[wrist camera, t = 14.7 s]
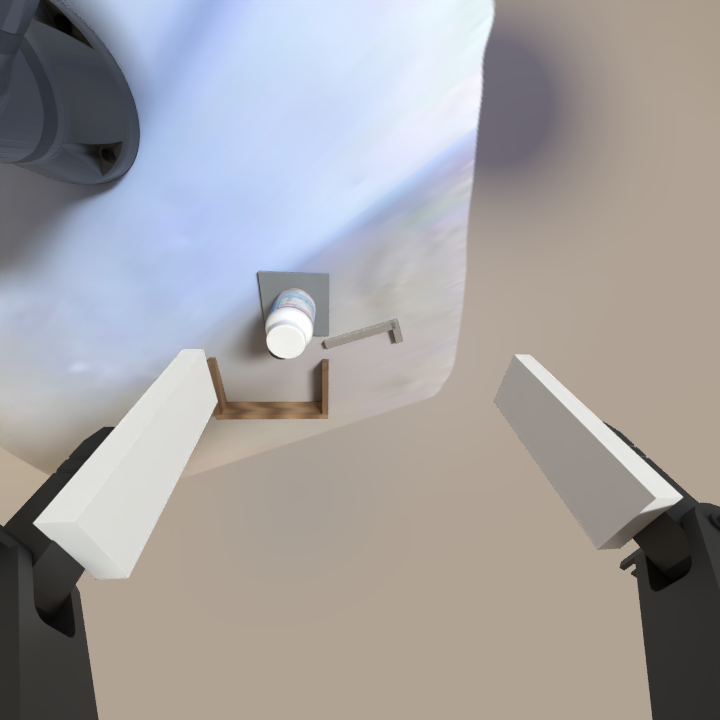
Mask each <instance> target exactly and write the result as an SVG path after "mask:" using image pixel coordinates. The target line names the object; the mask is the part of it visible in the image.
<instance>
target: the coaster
mask: <svg viewBox="0 0 720 720" xmlns="http://www.w3.org/2000/svg"><path fill="white" fill-rule="evenodd" d="M258 277H259V284H260V292H261V299H262V307H263V315H264V322H265V326H266V321H267V319H268V316H269V314H270V312H271V309H272V307H273V305H274V303H275V301H276V299H277V297H278V295H279V294H280V293H281V292H283V291H284V290H287V289H291V288H296V289H300V290H303V291H305V292H306V293H307V294H309V295H310V296H311V298H312V299H313V301H314V303H315V306H316V313H315V320H314V328H313V335H312V336H329V274H317V273H294V272H272V271H258Z"/></svg>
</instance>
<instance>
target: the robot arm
mask: <svg viewBox="0 0 720 720" xmlns="http://www.w3.org/2000/svg"><path fill="white" fill-rule="evenodd" d="M139 138H140V130H139V120H138V114H137V110H136V106H135V102H134V99H133V96H132V93H131V91H130V88H129V86H128V83H127V81H126V79H125V77H124V75H123V73H122V71H121V70H120V68H119V66H118V64H117V63H116V61H115V59H114V58H113V56H112V55H111V53H110V52H109V51H108V49H107V48H106V46H105V45H104V44H103V43H102V41H101V40H100V39H99V38H98V36H97V35H96V34H95V33H94V32H93V31H92V30H91V29H90V28H89V26H88V25H87V24H86V23H85V22H84V21H82V20H81V19H80V18H79V17H78V16H77V15H76V14H75V13H74V12H72V11H71V10H70V9H69V8H67V7H66V6H65V5H63V4H62V3H60V2H59V1H57V0H0V163H13V164H15V165H18V166H21V167H23V168H26V169H29V170H31V171H34V172H37V173H39V174H42V175H45V176H47V177H50V178H53V179H56V180H59V181H63V182H68V183H74V184H99V183H106V182H110V181H113V180H115V179H117V178H119V177H120V176H122V175H123V174H124V173H125V172H126V171H127V170H128V169H129V168H130V167H131V165H132V163H133V162H134V160H135V157H136V154H137V151H138V146H139ZM217 402H218V400H217V397H216V393H215V389H214V386H213V382H212V379H211V375H210V372H209V368H208V364H207V361H206V357H205V354H204V350H203V349H182V351H181V352H180V353H179V354H178V355H177V356H176V358H175V359H174V360H173V361H172V362H171V363H170V365H169V366H168V367H167V368H166V369H165V370H164V372H163V373H162V374H161V375H160V376H159V377H158V378H157V380H156V381H155V382H154V383H153V384H152V385H151V387H150V388H149V389H148V390H147V391H146V392H145V394H144V395H143V396H142V397H141V398H140V399H139V401H138V402H137V403H136V404H135V405H134V406H133V408H132V409H131V410H130V411H129V412H128V413H127V415H126V416H125V417H124V418H123V419H122V420H121V421H120V423H119V424H118V425H117V426H116V427H103V428H102V429H100V430H99V431H97V432H96V433H94V434H93V435H92V436H90V437H89V438H87V439H86V440H84V441H83V442H82V443H81V444H80V445H79V446H78V448H77V449H76V450H75V451H74V452H73V453H72V454H71V455H70V456H69V459H68V460H65V461H64V463H63V464H62V465H61V466H60V467H59V468H58V469H57V472H56V473H53V474H52V475H51V476H50V478H49V479H48V480H47V481H46V482H45V483H44V484H43V485H42V486H41V487H40V488H39V489H38V490H37V491H36V493H35V494H34V495H33V496H32V497H31V498H30V499H29V500H28V501H27V502H26V503H25V504H24V505H23V506H22V508H21V509H20V510H19V511H18V512H17V513H16V514H15V515H14V516H13V517H12V518H11V519H10V520H9V521H8V522H7V524H6V525H5V526H4V527H3V526H2V525H0V720H98V713H97V707H96V700H95V693H94V687H93V680H92V673H91V666H90V659H89V653H88V646H87V639H86V632H85V626H84V619H83V613H82V606H81V599H80V592H79V590H78V588H77V587H76V585H75V584H76V583H77V581H78V579H79V578H80V577H81V575H82V573H83V572H84V570H85V571H86V572H88V573H89V574H90V575H91V576H92V577H93V578H94V579H95V580H98V579H114V578H128V577H129V575H130V573H131V571H132V569H133V567H134V566H135V564H136V562H137V560H138V558H139V556H140V554H141V552H142V550H143V548H144V546H145V544H146V542H147V540H148V538H149V536H150V534H151V532H152V530H153V528H154V526H155V524H156V522H157V520H158V518H159V516H160V514H161V512H162V510H163V509H164V506H165V505H166V503H167V501H168V499H169V497H170V495H171V493H172V491H173V489H174V487H175V485H176V483H177V481H178V479H179V477H180V475H181V473H182V471H183V469H184V467H185V465H186V463H187V461H188V459H189V457H190V455H191V453H192V452H193V450H194V448H195V446H196V444H197V442H198V440H199V438H200V436H201V434H202V432H203V430H204V428H205V426H206V424H207V422H208V420H209V418H210V416H211V414H212V412H213V410H214V408H215V406H216V404H217ZM494 403H495V404H496V405H497V407H498V408H499V410H500V411H501V413H502V414H503V416H504V417H505V418H506V420H507V421H508V423H509V424H510V426H511V427H512V428H513V430H514V431H515V433H516V434H517V435H518V437H519V438H520V440H521V441H522V443H523V444H524V445H525V447H526V448H527V450H528V451H529V453H530V454H531V456H532V457H533V459H534V460H535V461H536V463H537V464H538V465H539V467H540V468H541V470H542V471H543V473H544V474H545V476H546V477H547V478H548V480H549V481H550V483H551V484H552V486H553V487H554V489H555V490H556V491H557V493H558V494H559V495H560V497H561V499H562V500H563V501H564V503H565V504H566V506H567V507H568V509H569V510H570V511H571V513H572V514H573V516H574V517H575V518H576V520H577V521H578V523H579V524H580V526H581V527H582V529H583V530H584V531H585V533H586V534H587V536H588V537H589V539H590V540H591V542H592V543H593V544H594V546H595V547H596V549H597V550H600V549H616V548H621V547H622V546H623V545H625V544H626V543H627V542H628V541H630V540H631V539H632V538H633V539H634V540H635V541H636V543H637V544H638V545H639V546H640V548H639V549H637V550H636V551H635V552H633V553H632V554H631V555H630V556H628V557H627V558H626V559H624V560H623V561H622V562H621V564H620V568H621V569H623V570H625V569H627V568H628V567H630V566H631V565H632V564H636V569H635V570H634V571H632V573H631V574H632V575H633V576H635V577H637V582H638V591H639V600H640V609H641V618H642V627H643V637H644V646H645V655H646V664H647V673H648V682H649V691H650V700H651V709H652V717H653V718H652V719H653V720H720V507H719V506H716V505H713V504H710V503H699V502H697V501H696V500H695V499H694V498H692V497H691V496H690V495H689V494H688V493H687V492H686V491H685V490H684V489H682V488H681V487H680V486H679V485H678V484H677V483H676V482H675V481H674V480H673V479H671V478H670V477H669V476H668V475H667V474H666V473H665V472H664V471H663V470H662V469H660V468H659V467H658V466H657V465H656V464H655V463H654V462H653V461H652V460H650V459H649V458H646V455H645V454H643V452H642V451H641V450H639V449H638V448H637V447H634V444H633V443H632V442H631V441H629V440H628V439H627V438H626V437H625V436H624V435H623V434H622V433H621V432H619V431H618V430H616V429H614V428H613V427H611V426H610V425H608V424H607V423H605V422H602V421H601V420H600V419H599V418H597V417H596V416H595V415H594V414H593V413H592V412H591V411H590V410H589V409H588V408H587V407H586V406H585V405H583V404H582V403H581V402H580V401H579V400H578V399H577V398H576V397H575V396H574V395H573V394H572V393H571V392H570V391H568V390H567V389H566V388H565V387H564V386H563V385H562V384H561V383H560V382H559V381H558V380H557V379H555V378H554V377H553V376H552V375H551V374H550V373H549V372H548V371H547V370H546V369H545V368H544V367H543V366H541V365H540V364H539V363H538V362H537V361H536V360H535V359H534V358H533V357H532V356H531V355H514V356H513V358H512V360H511V362H510V365H509V367H508V369H507V371H506V374H505V376H504V379H503V381H502V383H501V385H500V388H499V390H498V392H497V394H496V397H495V399H494Z"/></svg>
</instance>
